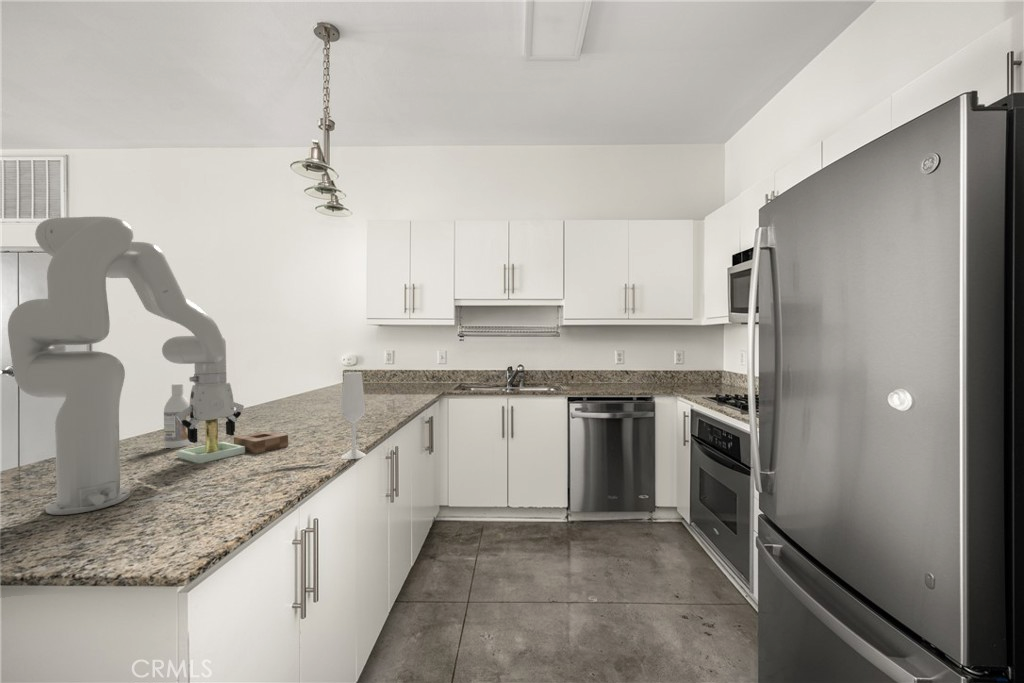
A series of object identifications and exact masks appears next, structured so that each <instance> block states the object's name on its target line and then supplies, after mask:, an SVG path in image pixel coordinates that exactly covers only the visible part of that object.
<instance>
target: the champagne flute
mask: <svg viewBox="0 0 1024 683" xmlns="http://www.w3.org/2000/svg"><path fill="white" fill-rule="evenodd" d="M342 383H343V384H342V392H341V405H340V413H341V415H342V416H343V417H344V418H345V420H347V421H348V422H350V423H351V425H350V427H351V428H350V429H351V432H350V433H351V449H350V450H349V451H347V452H346V453H345V454H343V455H342V456H341V458H342V459H344V460H354V459H356V460H357V459H361V458H365V457H366V454H367V453H364V452H362V451H360V450H359V449H357V434H356V431H357V429H356V428H357V426H356V425H357V423H356V422H359V420H360V419H361V418H362V417H363V416H364V415H365V413H366V403H365V402H366V401H365V400H366V399H365V392H364V384H363V374H362V372H361V371H350V372H344V373H343V380H342Z"/></svg>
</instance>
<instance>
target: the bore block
mask: <svg viewBox="0 0 1024 683" xmlns="http://www.w3.org/2000/svg"><path fill="white" fill-rule="evenodd" d="M233 444H235V445H240V446H245V452H249V453H253V454H259V453H264V452H268V451H272V450H276V449H281V448H284V447H288V446H289V434H286V433H285V434H284V433H280V432H273V431H269V430H265V431H259V432H254V433H249V434H243V435H237V436H233Z"/></svg>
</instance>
